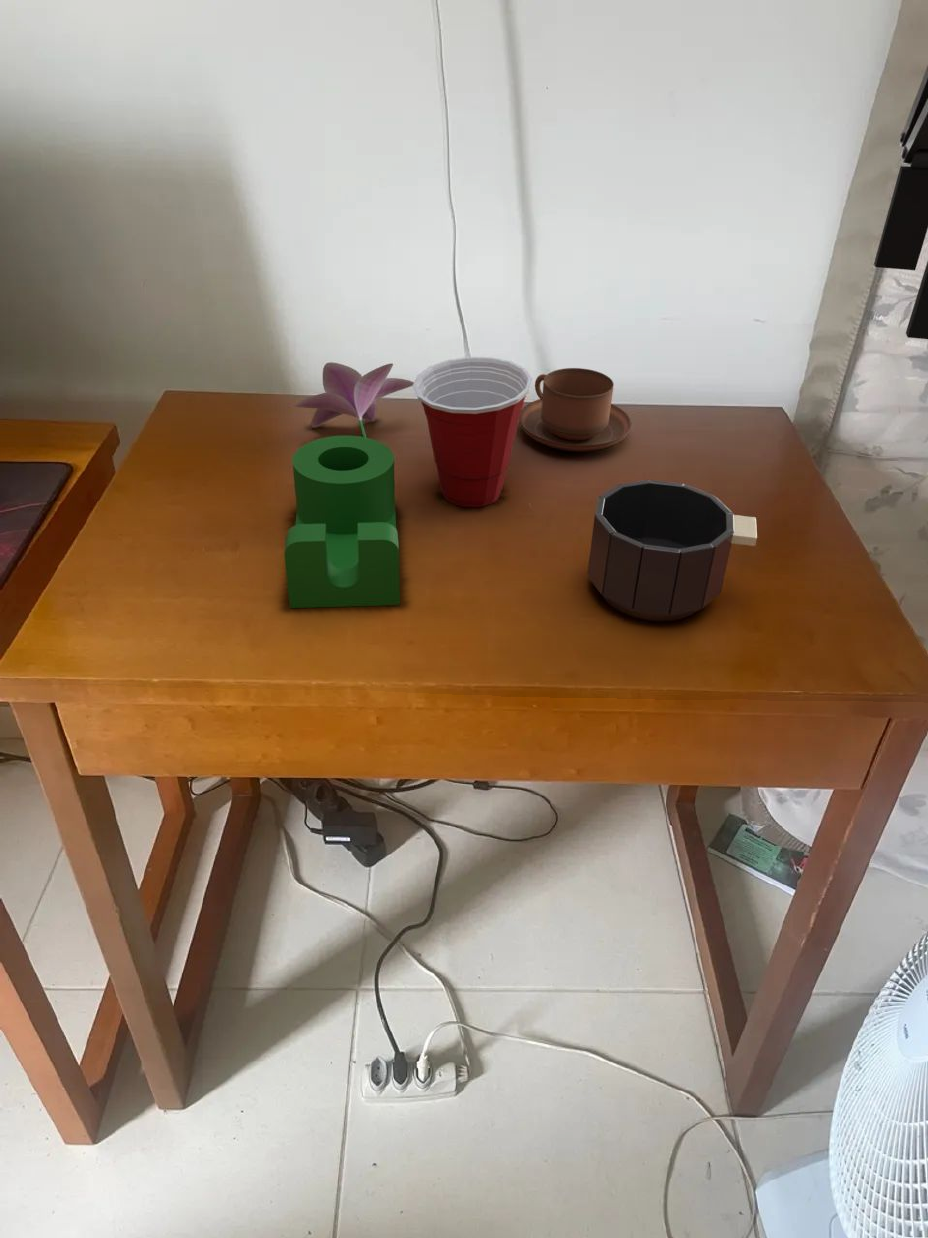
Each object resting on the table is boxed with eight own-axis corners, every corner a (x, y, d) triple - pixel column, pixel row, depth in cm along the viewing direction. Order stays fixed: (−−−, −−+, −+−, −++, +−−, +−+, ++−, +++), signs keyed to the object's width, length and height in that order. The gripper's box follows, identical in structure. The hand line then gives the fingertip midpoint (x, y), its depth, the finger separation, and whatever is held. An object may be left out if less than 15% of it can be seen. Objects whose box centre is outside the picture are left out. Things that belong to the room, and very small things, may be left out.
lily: (432, 437, 108) (409, 349, 106) (412, 444, 96) (386, 345, 94) (330, 463, 110) (305, 378, 108) (299, 473, 98) (271, 378, 96)
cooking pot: (582, 603, 79) (589, 541, 76) (595, 532, 88) (602, 473, 84) (743, 626, 77) (759, 563, 74) (740, 551, 86) (754, 491, 82)
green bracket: (300, 496, 95) (295, 436, 91) (393, 494, 95) (392, 434, 91) (289, 608, 80) (283, 541, 76) (399, 604, 81) (398, 539, 77)
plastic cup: (396, 478, 98) (394, 363, 91) (494, 458, 102) (499, 347, 94) (440, 532, 90) (442, 411, 83) (544, 508, 94) (554, 391, 87)
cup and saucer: (498, 443, 104) (501, 388, 101) (547, 402, 113) (551, 351, 109) (602, 472, 100) (609, 416, 96) (645, 427, 108) (653, 374, 105)
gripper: (915, -108, 62) (831, 239, 75) (1017, -102, 42) (878, 367, 55) (1042, -104, 61) (934, 247, 74) (1206, -96, 41) (1020, 381, 54)
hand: (910, 299), depth 64 cm, fingers open, 13 cm apart
